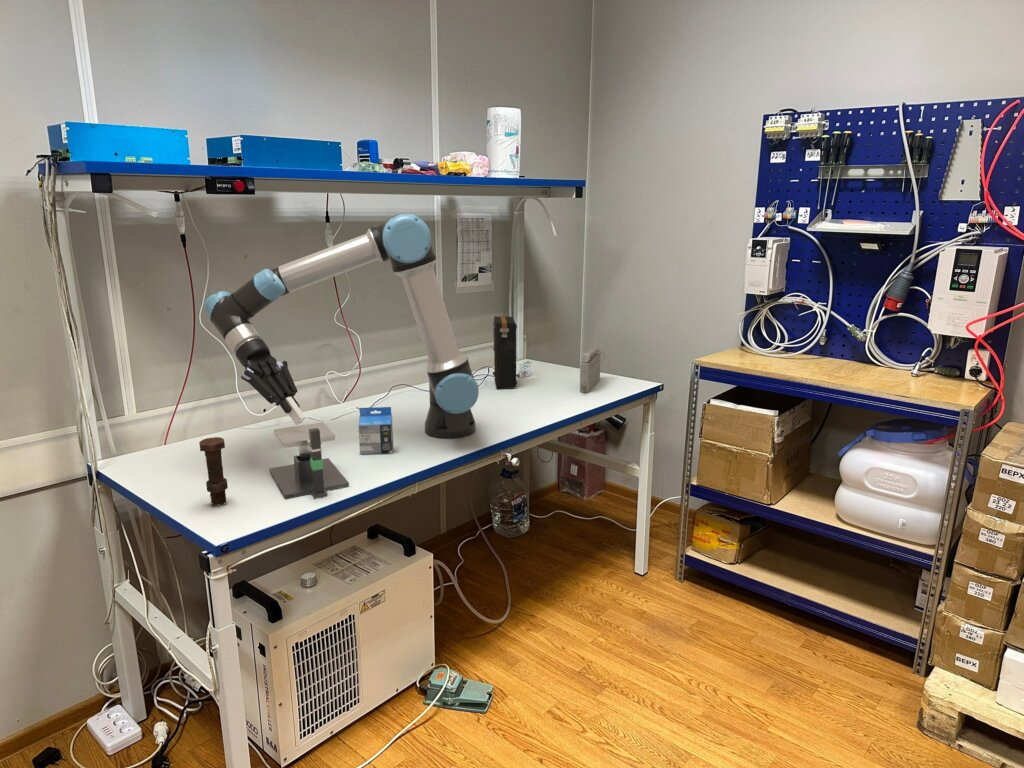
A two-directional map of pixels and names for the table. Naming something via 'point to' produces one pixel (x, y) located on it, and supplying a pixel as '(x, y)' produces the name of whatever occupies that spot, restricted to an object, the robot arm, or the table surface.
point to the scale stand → (308, 473)
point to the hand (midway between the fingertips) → (300, 421)
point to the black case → (504, 352)
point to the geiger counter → (590, 369)
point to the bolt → (215, 469)
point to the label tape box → (375, 430)
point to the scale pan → (302, 437)
